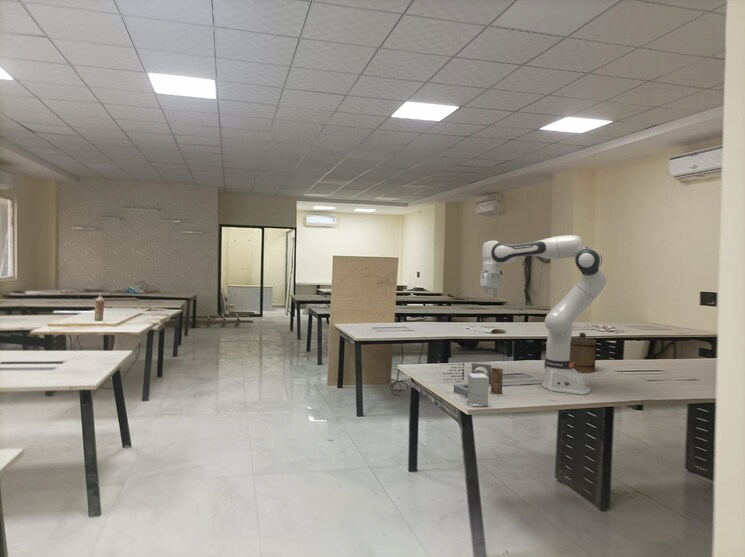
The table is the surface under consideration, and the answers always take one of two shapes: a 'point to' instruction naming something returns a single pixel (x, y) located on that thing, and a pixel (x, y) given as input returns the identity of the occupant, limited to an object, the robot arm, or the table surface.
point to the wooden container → (583, 353)
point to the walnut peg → (496, 380)
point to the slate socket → (461, 389)
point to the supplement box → (478, 388)
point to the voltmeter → (474, 370)
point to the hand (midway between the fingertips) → (491, 297)
